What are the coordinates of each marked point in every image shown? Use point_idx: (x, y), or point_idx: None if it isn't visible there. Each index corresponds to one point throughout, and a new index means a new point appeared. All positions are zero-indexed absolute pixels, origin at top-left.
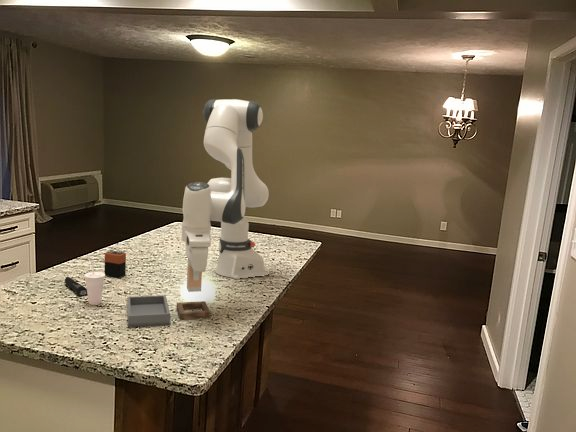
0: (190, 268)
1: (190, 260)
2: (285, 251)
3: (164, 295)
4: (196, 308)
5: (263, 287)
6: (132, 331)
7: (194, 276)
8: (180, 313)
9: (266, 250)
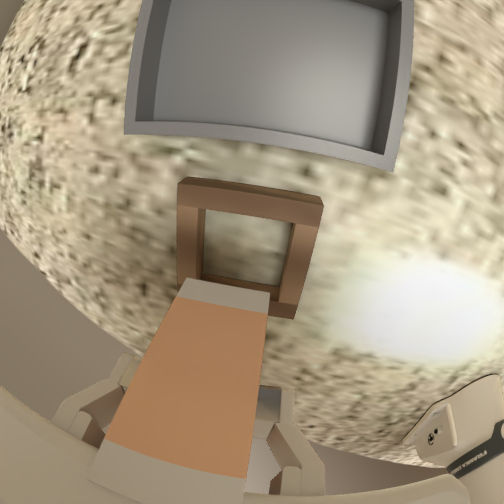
0: (117, 421)
1: (68, 481)
2: None
3: (390, 165)
4: (283, 272)
5: (356, 432)
6: (134, 5)
7: (115, 376)
8: (180, 186)
9: None
